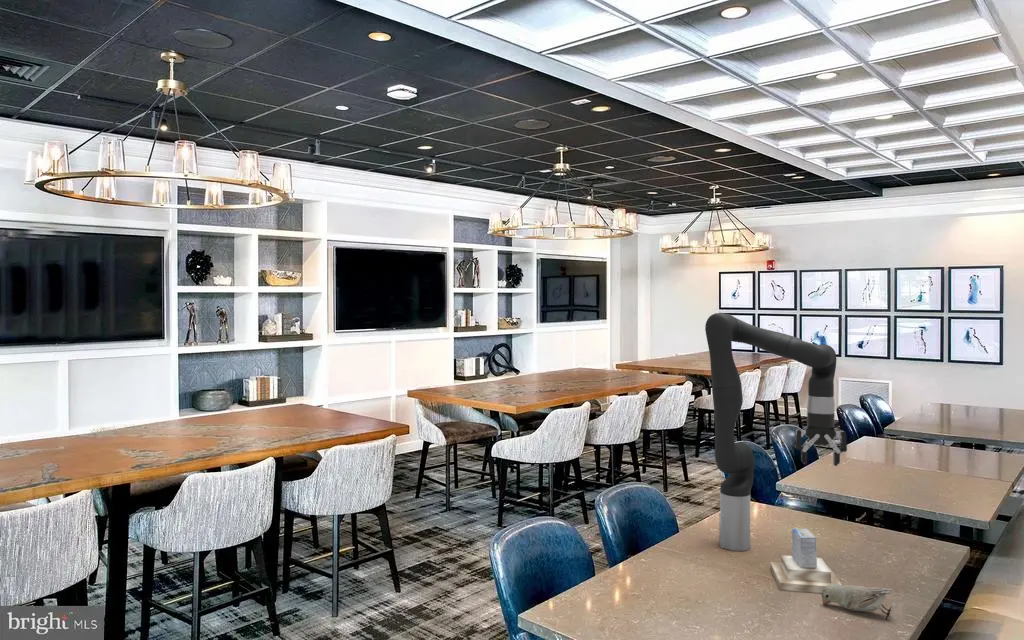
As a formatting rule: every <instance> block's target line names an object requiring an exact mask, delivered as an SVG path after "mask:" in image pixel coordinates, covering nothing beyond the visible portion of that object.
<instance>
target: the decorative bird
mask: <svg viewBox="0 0 1024 640" xmlns="http://www.w3.org/2000/svg"><path fill="white" fill-rule="evenodd" d="M891 590H892V588H888V587H886V588H885V587H883V588H882V587H867V586H861V585H850V584H849V585H848V584H847V585H845V584H844V585H843V584H841V585H839V584H830V585H827V586H826V587H825V588H824V589H823V592H822V593H821V599H822V600H821V601H822V604H823V605H822V606H824V605H828V604H830V603H837V604H838V605H839V606H841V607H842V608H844V609H846V610H850V611H854V612H855V611H856V612H875V611H877V610H880V611H881V612H882V613H883V614H884V615H886V617H885V620H886V621H887V619H888V618H889V617H890V615H891V611H893V610H892V607H893V605H892V606H890V607H889V609H888V608H886V607H885V606H884V605H883V603H884V600H885V598H886V597H887V596H886V595H890V594H891ZM881 607H882V608H883V609H884V610H886V611H887V612H885V611H884V610H883V609H882V608H881Z"/></svg>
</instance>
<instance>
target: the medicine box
mask: <svg viewBox="0 0 1024 640" xmlns="http://www.w3.org/2000/svg"><path fill="white" fill-rule="evenodd" d="M791 533H792V534H791V535H792V537H791V541H792V542H791V543H792V545H791V547H792V548H791V551H792V553H791V554H792V555H791V556H792V558H793V559H794V560H795V561H796V562H797V563H798V564H799V566H800V567H801V568H817V558H818V557H817V556H818V555H817V554H818V552H817V551H818V549H817V546H818V545H817V543H818V542H817V541H818V540H817V537H816V536H815V534H814V533H812V532H811V531H810V529H808V528H792V531H791Z"/></svg>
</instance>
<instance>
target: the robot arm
mask: <svg viewBox="0 0 1024 640" xmlns="http://www.w3.org/2000/svg"><path fill="white" fill-rule="evenodd" d="M704 327H705V329H704V331H705V336H706V341H707V345H708V353H709V359H710V360H709V361H710V374H711V375H710V376H711V392H712V402H713V411H714V413H713V414H714V459H715V464H716V466H717V468H718V470H719V471H720V472H722V473H723V474H726V475H727V474H728V476H727V477H726V479H725V480H723V481H722V482H721V483H720V487H719V488H720V496H719V497H720V499H719V501H720V503H719V511H720V513H719V520H718V521H719V529H718V530H719V531H718V533H719V537H718V538H719V540H718V541H719V546H720V549H726V550H730V551H737V552H742V551H748V550H750V548H751V490H752V487H753V485H754V474H755V473H754V472H755V458H754V457H755V456H754V452H753V450H752V448H751V446H750V445H749V444H747V443H745V442H735V441H736V440H735V427H736V423H737V420H738V418H739V415H740V412H741V410H742V407H743V403H744V400H743V385H742V380H741V375H740V374H739V371H738V367H737V366H736V363H735V361H734V360H735V359H734V357H733V346H732V342H735V343H741V344H745V345H750V346H753V347H756V348H758V349H760V350H763V351H764V352H767V353H770V354H772V355H775V356H777V357H778V356H779V357H782V358H785V359H789V360H793V361H796V362H798V363H801V364H803V365H804V366H807V367H809V368H810V367H811V376H810V377H809V380H808V384H807V385H808V386H807V387H808V389H807V390H808V391H807V392H808V393H807V402H806V403H807V404H806V411H807V412H806V413H807V414H806V415H807V416H806V429H800V428H796V429H795V436H794V448H795V449H796V450H798V451H800V460H801V462H802V464H804V465H808V452H807V451H808V450H809V449H810V448H811V447H812V446H813V445H816V446H820V445H822V446H828V445H829V446H830V447H831V448H832V450H833V451H834V452H833V453H832V454H833V459H832V460H833V463H832V464H833V466H835V467H837V466H838V465H840V463H841V459H840V458H841V454H842V453H844V452H845V453H846V452H847V451H848V447H847V446H848V445H847V444H848V443H847V432H846V431H844V430H843V429H842V430H840V431H836V430H835V413H836V412H835V410H836V409H835V408H836V407H835V397H834V396H835V395H834V394H835V390H834V389H835V385H834V383H835V382H834V381H835V376H836V375H835V374H836V369H837V353H836V351H835V349H834V348H833V347H832V346H830V345H828V344H825V343H823V344H817V343H816V344H815V343H812V342H809V341H804V340H803V339H802V338H799V337H796V336H793V335H790V334H786V333H782V332H778V331H775V330H771V329H766V328H761V327H758V326H756V325H753V324H750V323H747V322H746V321H743V320H741V319H739V318H737V317H735V316H733V315H732V314H729V313H725V312H724V313H723V312H717V313H712V314H711V315H709V317H708V318H707V320H706V322H705V326H704ZM804 435H806V436H807V439H806V440H805V442H804V443H803V444H802V443H801V442H802V438H803V437H804ZM836 436H837V437H838V439H839V442H840V447H838V446H837V444H836V443H835V442H834V438H835V437H836ZM801 444H802V445H801Z"/></svg>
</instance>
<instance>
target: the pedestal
mask: <svg viewBox="0 0 1024 640" xmlns="http://www.w3.org/2000/svg"><path fill="white" fill-rule="evenodd" d="M770 571H771V574H772V575H773V577H774V580H775V582H776V584H777V586H778V589H779V591H787V592H789V591H790V592H802V593H814V594H822V592H823V589H824V588H825V587H826V586H827V585H830V584H839V585H842V583H841V582H840V580H839V579H838V578H837V576H836V574H835V573H834V571H833V570H832V568H831V567H830V566H829V565H827V564H826V562H825V561H824V559H823V558H822V557H817V568H801V567H800V566H799V564H798V563H797V562H796V561H795V560H794V559H793V558H792V555H780V562H779V561H777V562H776V561H775V562H774V561H770Z"/></svg>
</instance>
